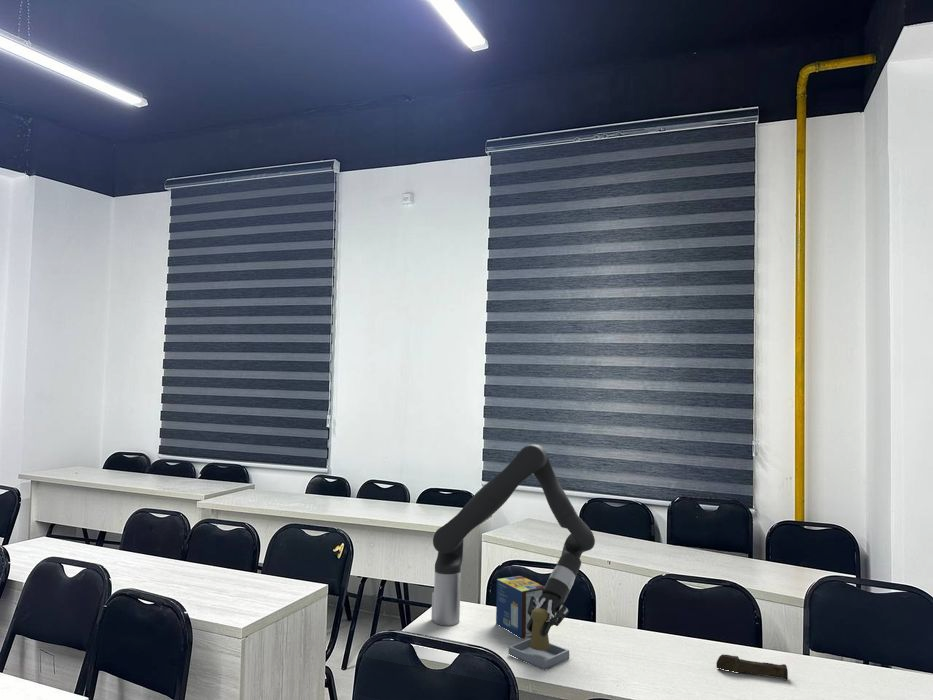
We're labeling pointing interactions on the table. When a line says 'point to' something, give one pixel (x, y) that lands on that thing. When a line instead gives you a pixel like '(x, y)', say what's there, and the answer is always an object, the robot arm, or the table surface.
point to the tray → (539, 654)
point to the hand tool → (751, 666)
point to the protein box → (515, 603)
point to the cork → (537, 639)
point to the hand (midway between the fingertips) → (535, 632)
